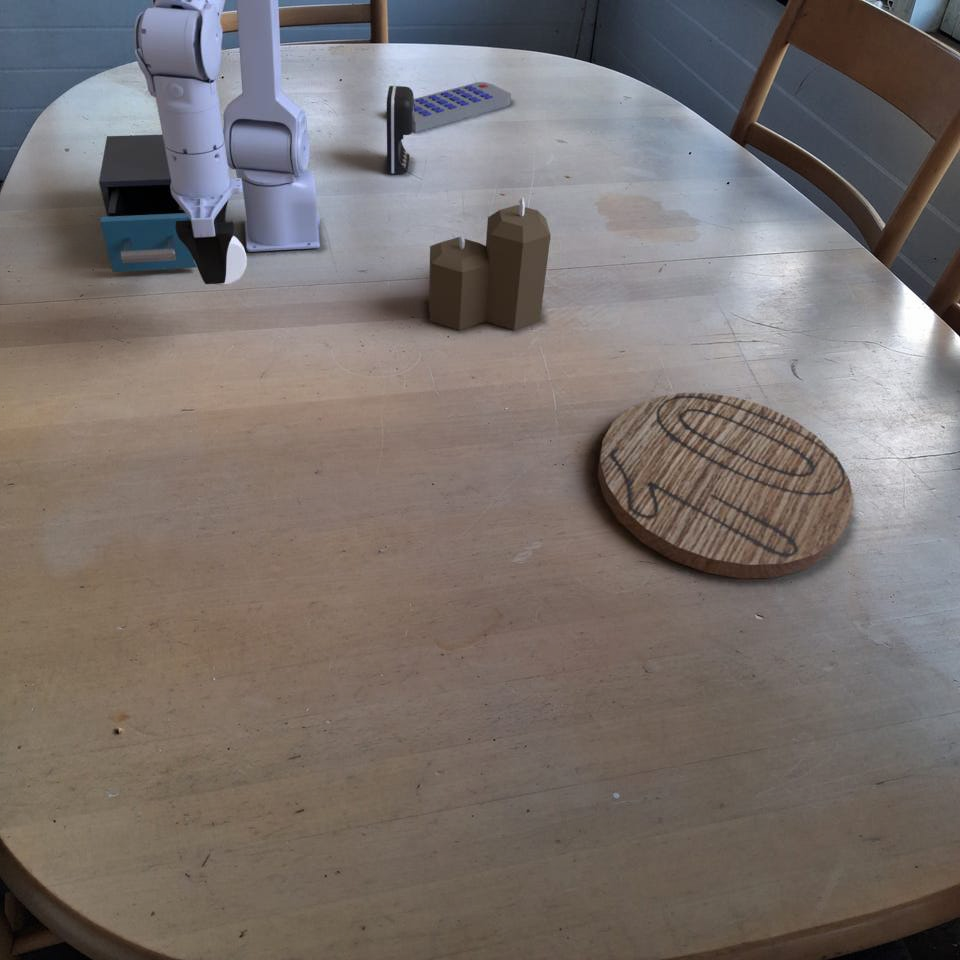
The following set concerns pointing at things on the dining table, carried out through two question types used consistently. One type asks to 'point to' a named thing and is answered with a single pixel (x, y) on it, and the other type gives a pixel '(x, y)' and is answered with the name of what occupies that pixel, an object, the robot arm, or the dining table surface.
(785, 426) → the trivet
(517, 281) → the candle
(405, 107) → the battery charger
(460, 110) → the remote control
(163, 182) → the cabinet
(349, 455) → the dining table surface
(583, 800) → the dining table surface
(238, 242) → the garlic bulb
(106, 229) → the drawer
